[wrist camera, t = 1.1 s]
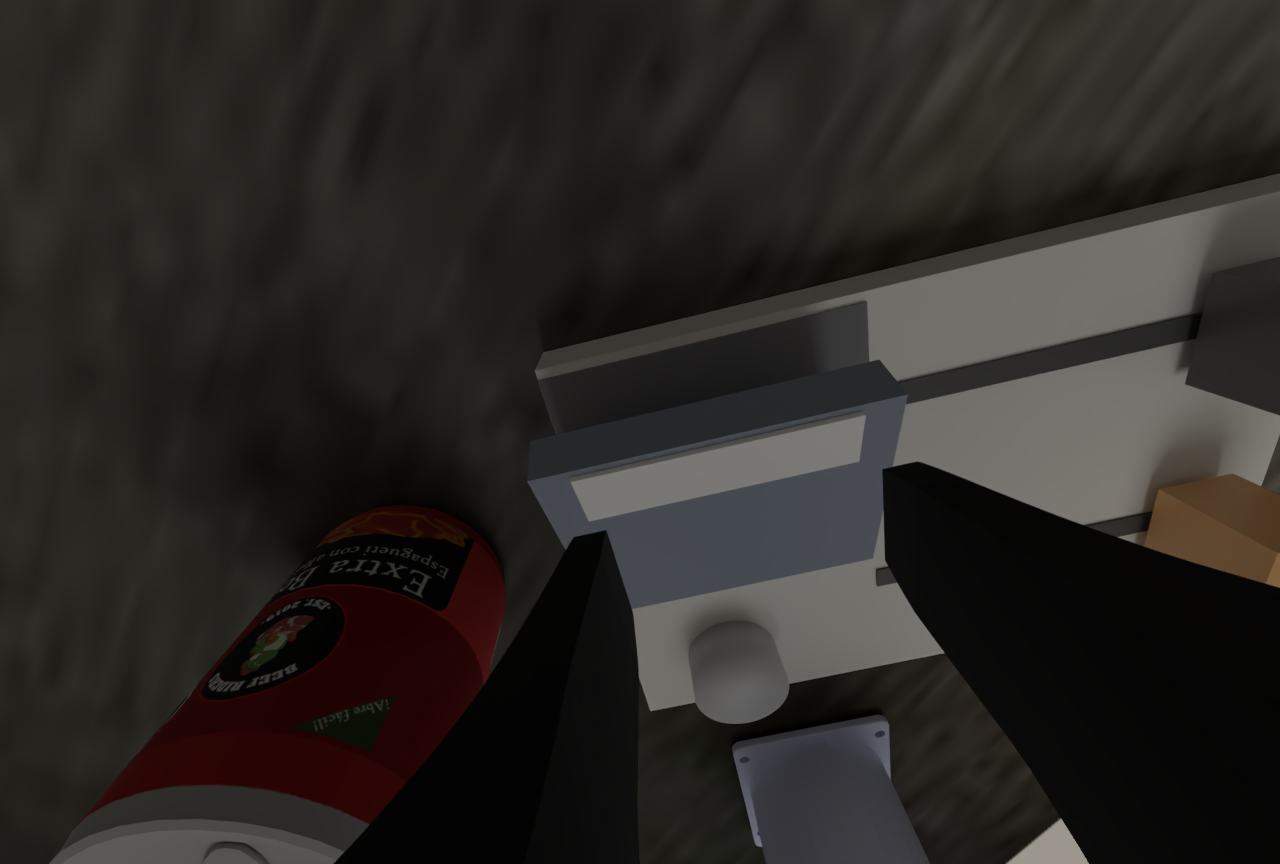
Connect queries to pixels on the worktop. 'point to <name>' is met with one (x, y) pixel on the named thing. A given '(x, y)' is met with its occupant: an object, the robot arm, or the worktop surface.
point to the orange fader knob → (1220, 526)
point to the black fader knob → (1241, 337)
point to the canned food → (314, 704)
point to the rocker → (730, 483)
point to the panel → (949, 414)
